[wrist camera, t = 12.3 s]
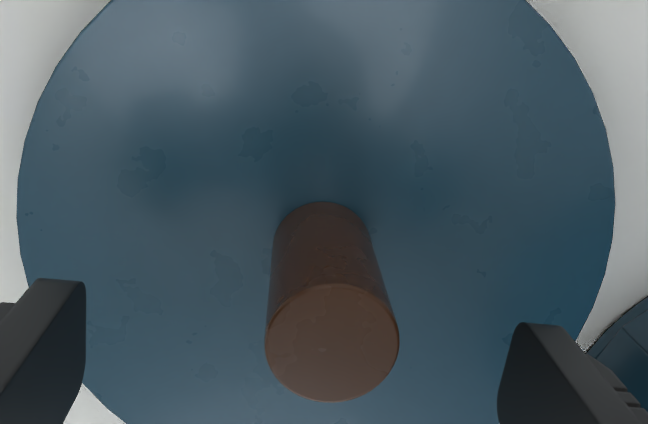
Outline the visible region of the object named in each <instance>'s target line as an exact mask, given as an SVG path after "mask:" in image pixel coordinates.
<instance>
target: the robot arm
mask: <svg viewBox="0 0 648 424" xmlns="http://www.w3.org/2000/svg"><path fill="white" fill-rule="evenodd" d="M85 363H86V288H85V284H84V283H83V282H82V281H71V280H60V279H49V278H38V279H36V280H35V281H34V283H33V284H32V285H31V286H30V287H29V288H28V290H27V291H26V292H25V293H24V294H23V295H22V297H21V298H20V299H19V300H18V301H17V302H16V303H5V302H2V303H0V424H63V422H64V420H65V418H66V416H67V414H68V412H69V410H70V408H71V406H72V404H73V403H74V401H75V399H76V397H77V395H78V393H79V390H80V387H81V384H82V380H83V376H84V371H85ZM640 405H641V404H640V403H639V402H638V400H637V399H636V398H635V397H634V396H633V395H632V393H631V392H627V388H626V386H625V385H624V384H623V383H622V382H621V381H620V379H619V378H618V377H617V376H616V375H615V374H614V372H613V371H612V370H610V369H609V368H608V367H606V366H605V365H603V364H602V363H600V362H599V361H598V360H596V359H595V358H593V357H592V356H590V355H589V354H586V353H584V352H583V351H582V349H581V348H580V347H579V346H578V345H577V343H576V342H575V341H574V340H573V339H572V337H571V336H570V335H569V334H568V332H567V331H566V330H565V329H564V328H563V327H562V326H559V325H549V324H538V323H526V322H521V323H519V324H518V325H517V326H516V328H515V330H514V333H513V336H512V340H511V343H510V347H509V351H508V355H507V359H506V362H505V366H504V370H503V374H502V378H501V381H500V385H499V389H498V394H497V415H498V420H499V423H500V424H648V412H647V411H646V410H645V409H644V408H641V406H640Z"/></svg>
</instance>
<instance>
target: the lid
mask: <svg viewBox="0 0 648 424" xmlns="http://www.w3.org/2000/svg"><path fill="white" fill-rule="evenodd" d="M614 213H615V190H614V172H613V163H612V158H611V153H610V148H609V143H608V138H607V133H606V129H605V126H604V123H603V120H602V117H601V115H600V112H599V109H598V106H597V103H596V101H595V98H594V95H593V92H592V90H591V89H590V87H589V85H588V83H587V81H586V79H585V77H584V75H583V73H582V72H581V70H580V68H579V66H578V64H577V62H576V60H575V58H574V57H573V56H572V54H571V53H570V51H569V50H568V49H567V47H566V46H565V45H564V43H563V42H562V41H561V39H560V38H559V36H558V35H557V34H556V32H555V31H554V30H553V28H552V27H551V26H550V25H549V23H548V22H547V21H546V20H545V19H544V18H543V17H542V16H541V15H540V14H539V13H538V12H537V11H536V10H535V9H534V8H533V7H532V6H531V5H530V4H529V3H528V2H527V1H526V0H111V1H110V2H109V3H108V4H107V5H106V6H105V7H104V8H103V9H102V10H101V11H100V12H99V13H98V14H97V15H96V16H95V17H94V18H93V19H92V21H91V22H90V23H89V24H88V25H87V26H86V27H85V28H84V29H83V30H82V31H81V32H80V33H79V35H78V36H77V38H76V39H75V40H74V42H73V43H72V45H71V46H70V47H69V49H68V50H67V52H66V53H65V54H64V56H63V57H62V59H61V60H60V61H59V63H58V64H57V66H56V67H55V69H54V71H53V73H52V75H51V77H50V79H49V81H48V83H47V85H46V87H45V89H44V91H43V93H42V95H41V97H40V99H39V101H38V103H37V106H36V109H35V112H34V115H33V118H32V121H31V123H30V126H29V129H28V132H27V135H26V138H25V142H24V147H23V153H22V159H21V164H20V170H19V175H18V188H17V226H18V235H19V245H20V254H21V258H22V262H23V266H24V270H25V274H26V278H27V282H28V286H29V287H30V286H31V285H32V284H33V283H34V281H35V280H36V279H38V278H49V279H60V280H71V281H82V282H83V283H84V284H85V288H86V363H85V371H84V376H83V380H82V383H83V384H84V385H85V386H86V387H87V388H88V389H89V390H90V391H91V392H92V393H93V394H94V395H95V396H96V397H97V398H98V399H99V400H100V401H101V402H102V404H103V405H104V406H105V407H106V408H108V409H109V410H110V411H111V412H113V413H114V414H115V415H116V416H118V417H119V418H120V419H121V420H123V421H124V422H125V423H126V424H499V420H498V415H497V394H498V389H499V385H500V381H501V378H502V374H503V370H504V366H505V362H506V359H507V355H508V351H509V347H510V343H511V340H512V336H513V333H514V330H515V328H516V326H517V325H518V324H519V323H521V322H526V323H538V324H549V325H559V326H562V327H563V328H564V329H565V330H566V331H567V332H568V334H569V335H570V336H571V337H572V339H573V340H574V341H575V340H576V339H577V337H578V335H579V333H580V331H581V329H582V327H583V325H584V324H585V322H586V320H587V318H588V316H589V314H590V312H591V310H592V308H593V305H594V303H595V300H596V297H597V294H598V292H599V289H600V286H601V283H602V280H603V278H604V275H605V271H606V266H607V262H608V257H609V252H610V248H611V243H612V238H613V225H614Z"/></svg>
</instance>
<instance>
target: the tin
mask: <svg viewBox="0 0 648 424" xmlns="http://www.w3.org/2000/svg"><path fill="white" fill-rule="evenodd" d="M586 354H589V355H590V356H592V357H593V358H595V359H596V360H598V361H599V362H600V363H602V364H603V365H605V366H606V367H608V368H609V369H610V370H612V371H613V372H614V374H615V375H616V376H617V377H618V378H619V379H620V381H621V382H622V383H623V384H624V385H625V386H626V388H627V392H631V393H632V395H633V396H634V397H635V398H636V399H637V400H638V402H639V403H640V404H641V405H640V406H641V408H644V409H645V410H646V411H647V412H648V297H647V298H645V299H644V300H642V301H641V302H640V303H638V304H637V305H636V306H634V307H633V308H631V309H630V310H629V311H628V312H626V313H625V314H624V315H623V316H622V317H621V318H620V319H619V320H618V321H617V322H615V323H614V324H613V325H612V326H611V327H610V328H609V329H608V330H607V331H606V332H604V334H603V335H602V336H601V337H600V338H599V339H598V340H597V342H596V343H595V344H594V345H593V346H592V347H591V348H590V350H589V351H588V352H587V353H586Z"/></svg>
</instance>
